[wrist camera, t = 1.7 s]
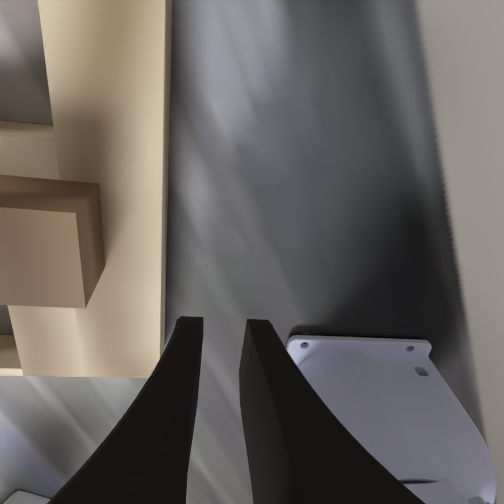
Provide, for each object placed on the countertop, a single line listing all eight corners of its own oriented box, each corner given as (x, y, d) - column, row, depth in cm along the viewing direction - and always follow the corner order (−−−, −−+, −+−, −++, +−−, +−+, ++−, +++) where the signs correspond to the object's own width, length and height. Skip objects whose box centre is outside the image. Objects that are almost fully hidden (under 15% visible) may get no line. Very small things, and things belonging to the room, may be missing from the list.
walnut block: (99, 183, 15) (75, 213, 13) (104, 267, 17) (85, 308, 14) (-9, 173, 15) (-57, 202, 12) (9, 262, 17) (-29, 303, 14)
